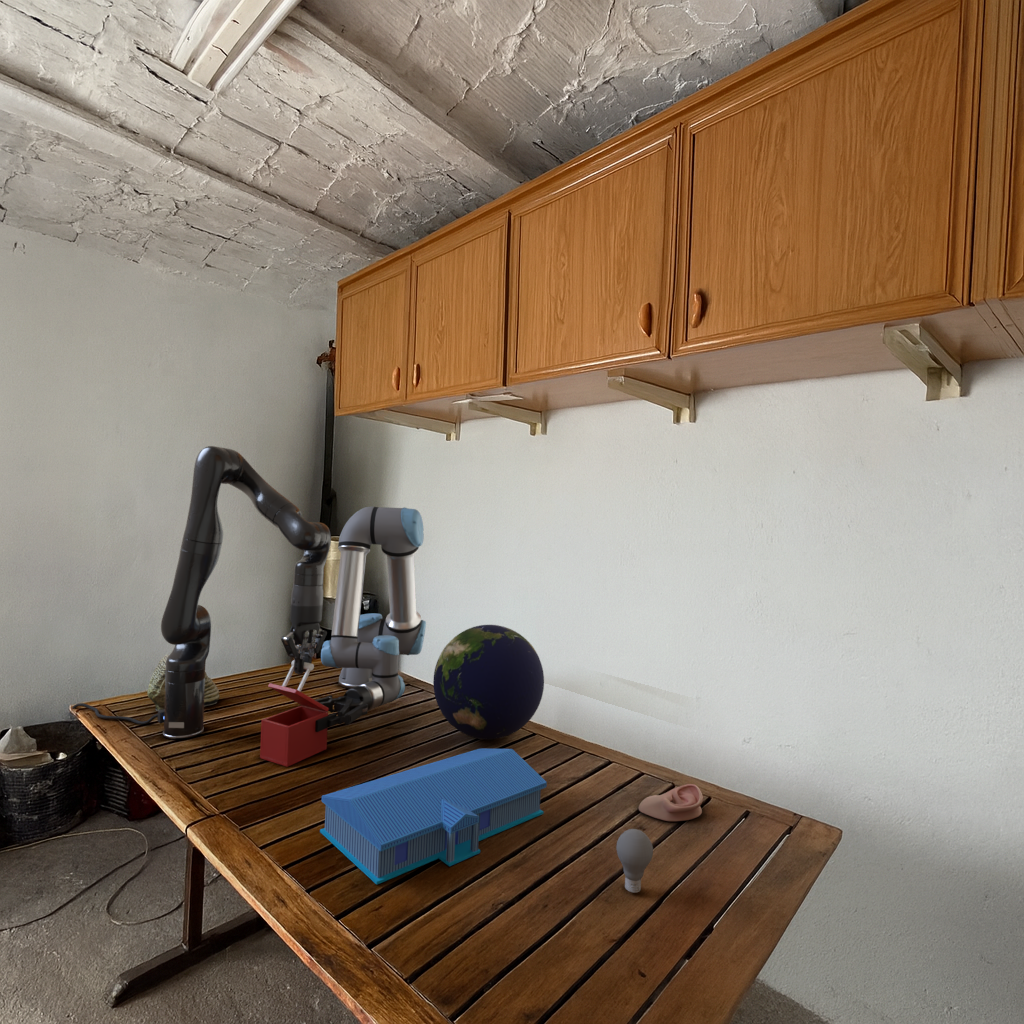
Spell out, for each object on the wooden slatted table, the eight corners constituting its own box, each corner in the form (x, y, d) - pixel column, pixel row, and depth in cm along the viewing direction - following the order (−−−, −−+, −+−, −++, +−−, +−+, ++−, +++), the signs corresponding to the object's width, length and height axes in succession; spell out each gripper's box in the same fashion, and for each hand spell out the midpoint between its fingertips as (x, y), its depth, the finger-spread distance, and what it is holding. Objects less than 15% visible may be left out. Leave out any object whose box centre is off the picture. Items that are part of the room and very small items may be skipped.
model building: (386, 894, 102) (389, 832, 102) (318, 830, 120) (320, 778, 120) (555, 819, 128) (557, 770, 128) (478, 776, 146) (480, 733, 146)
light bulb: (610, 879, 108) (613, 822, 108) (644, 879, 109) (647, 822, 109) (619, 902, 102) (622, 840, 102) (655, 901, 103) (658, 840, 103)
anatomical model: (639, 798, 130) (639, 775, 142) (638, 817, 130) (638, 792, 142) (706, 807, 128) (701, 783, 139) (705, 826, 128) (700, 800, 139)
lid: (295, 693, 149) (310, 660, 152) (267, 686, 153) (283, 654, 157) (327, 711, 158) (341, 680, 162) (301, 705, 163) (315, 674, 167)
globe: (409, 744, 164) (414, 628, 163) (461, 710, 191) (466, 611, 191) (517, 767, 152) (522, 643, 152) (556, 727, 180) (560, 623, 180)
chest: (287, 767, 147) (288, 727, 147) (259, 758, 152) (261, 719, 151) (326, 749, 159) (328, 712, 159) (300, 741, 163) (301, 705, 163)
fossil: (144, 707, 182) (145, 655, 182) (212, 696, 194) (213, 647, 194) (151, 716, 175) (153, 662, 175) (221, 703, 188) (223, 653, 188)
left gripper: (296, 607, 149) (292, 681, 149) (337, 601, 161) (333, 670, 161) (274, 603, 152) (269, 675, 152) (315, 598, 164) (311, 665, 164)
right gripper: (393, 719, 172) (334, 746, 152) (332, 704, 182) (270, 728, 162) (394, 692, 172) (335, 715, 152) (333, 678, 182) (271, 699, 162)
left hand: (302, 672), depth 156 cm, fingers closed on lid
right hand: (301, 722), depth 157 cm, fingers closed on chest, 9 cm apart
